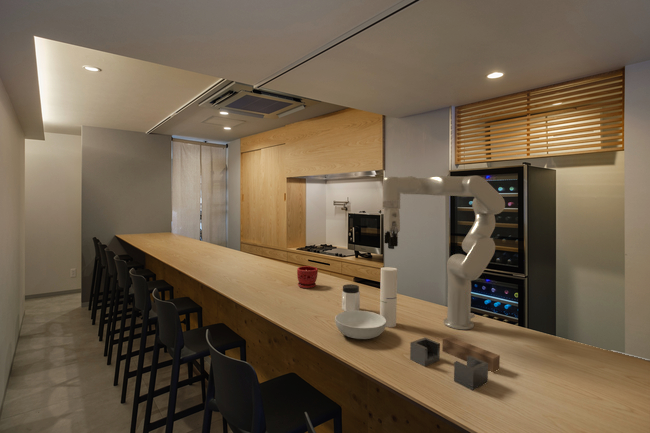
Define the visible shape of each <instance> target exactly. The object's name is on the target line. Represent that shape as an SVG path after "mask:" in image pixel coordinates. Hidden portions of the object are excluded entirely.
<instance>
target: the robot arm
mask: <svg viewBox="0 0 650 433" xmlns="http://www.w3.org/2000/svg"><path fill="white" fill-rule="evenodd" d="M401 194H402V195H424V196H425V195H426V196H427V195H428V196H434V197H435V196H438V197H439V196H444V197H446V196H447V197H449V196H452V197H453V196H454V197H455V196H456V197H460V196H461V197H468V196H469V197H470V196H472V197H473V200H472V203H471V206H472V209H473V211H474V216H475V219H474V222H473V224H472V226H471V228H470V229H469V231H468V233H467V234H466V236H465V237H464V238H463V240H462V243H461V248H462V250H463V252H465V253H466V254H467V255H465V254H462V253H455V254H453V255H451V256H449V257H448V260H447V262H446V271H447V283H448V284H447V288H448V289H447V312H446V313H447V317H445V318H444V319H443V324H444V325H445V326H447V327H448V328H450V329H454V330H455V329H456V330H466V331H467V330H472V329H473V328H474V327H475V324H474V322H473V321H471V320H472V319H473V318H476V315H475V313H473V312H471V308H472V307H471V304H472V301H471V300H472V281H475V280H477V279H478V278H480V276H481V275H482V274H483V272H484V271H485V270H486V268H487V267H488V265H489V263H490V262H491V260H492V258H493V256H494V255H495V251H496V244H495V241H494V240H493V238H491V236H492V234H493V232H494V230H495V228H496V217H495V215H498V214H501V213H502V212H503V211H504V209H505V207H506V202H505V198H503V196H502V195H501V194H500V192H498V191H497V190H496V189H495V188H494V187H493V186H492V185H491V184H490V183H489V182H488V181H487V180H486V179H485V178H483V177H482V176H480V175H467V176H449V175H441V176H440V175H438V176H431V177H416V176H413V175H411V176H410V175H409V176H403V177H402V176H400V177H399V176H385V177H384V178H383V179H382V209H384V213H383V214H384V215H383V229H384V238H383V239H384V240H383V242H384V244H389V246H390V247H398V244H399V242H398V241H399V239H398V238H399V234H398V233H399V232H401V222H400V221H401V218H400V217H401V216H400V209H401Z"/></svg>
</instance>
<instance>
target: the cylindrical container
mask: <svg viewBox="0 0 650 433" xmlns="http://www.w3.org/2000/svg"><path fill="white" fill-rule="evenodd" d="M397 287H398V268H396V267H391V266H390V267H389V266H387V267H384V266H383V267H380V288H379V289H380V293H379V294H380V295H379V296H380V297H379V298H380V300H379V315H381V316H383V317H384V318H385V319H386V326H385V328H394V327H396V326H397V300H398V299H397V297H398V294H397V293H398V291H397V289H398V288H397Z"/></svg>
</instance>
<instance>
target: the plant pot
mask: <svg viewBox="0 0 650 433" xmlns="http://www.w3.org/2000/svg"><path fill="white" fill-rule="evenodd" d="M296 270H297V271H296V272H297V280H298V282H297V285H298V287H299V288H301V289H302V288H303V289H312V288H314V287H316V285H317V283H316V282H317V278H318V272H319V271H318V267H316V266H315V267H314V266H308V265H307V266H306V265H305V266H299V267H297V269H296Z"/></svg>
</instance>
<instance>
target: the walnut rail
mask: <svg viewBox="0 0 650 433" xmlns="http://www.w3.org/2000/svg"><path fill="white" fill-rule="evenodd" d="M441 344H442V345H441V346H442V348H441V349H442V350H441V351H442V352H444V353H445V354H448V355H450V356H453V357H455V358H457V359H460V360H462V361H463V362H465V363H467V356H472V357H474V358H477V359H479V360H482V361H484V362H486V363H488V372H489V371H491V372H494V371H496V370H498V369H499V370H500V360H501V359H500V358H501V355H500V354H498V353H494V352H492V351H489V350H488V349H487V350H486V349H484V348H481V347H478V346H476V345H473V344H471V343H468V342H466V341H463V340H460V339H458V338H455V337H452V336H450V335H449V336H446V337H443V338H442V343H441ZM499 370H498V371H499ZM491 372H490V373H491ZM496 372H497V371H496ZM494 373H495V372H494Z"/></svg>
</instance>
